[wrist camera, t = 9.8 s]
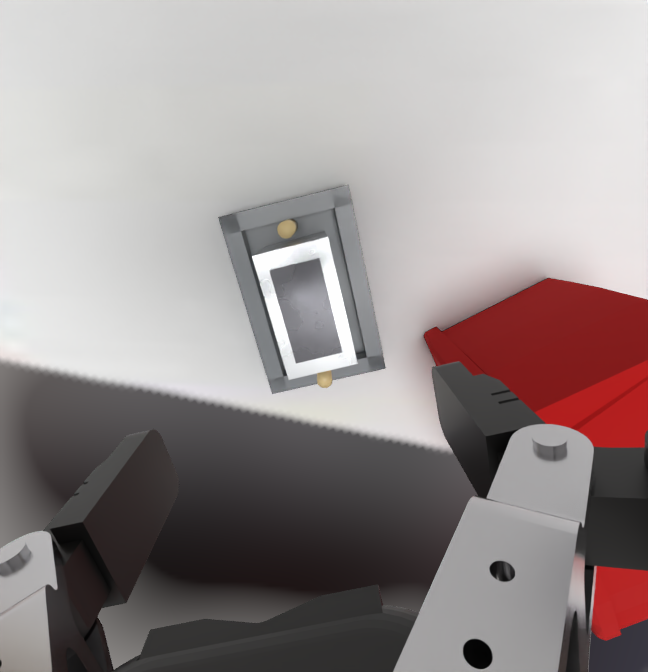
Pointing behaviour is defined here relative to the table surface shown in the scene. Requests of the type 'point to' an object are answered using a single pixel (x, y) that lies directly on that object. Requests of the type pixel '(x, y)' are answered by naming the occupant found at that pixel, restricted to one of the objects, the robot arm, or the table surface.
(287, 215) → the tray
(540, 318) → the fire alarm
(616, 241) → the table surface
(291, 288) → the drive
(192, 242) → the table surface
